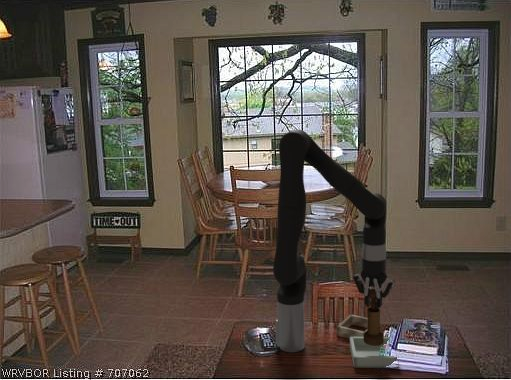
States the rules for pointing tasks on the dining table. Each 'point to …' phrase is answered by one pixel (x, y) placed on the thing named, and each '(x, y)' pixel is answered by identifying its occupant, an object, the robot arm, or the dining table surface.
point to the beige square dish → (348, 332)
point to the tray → (368, 354)
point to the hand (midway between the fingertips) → (373, 306)
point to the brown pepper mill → (373, 323)
